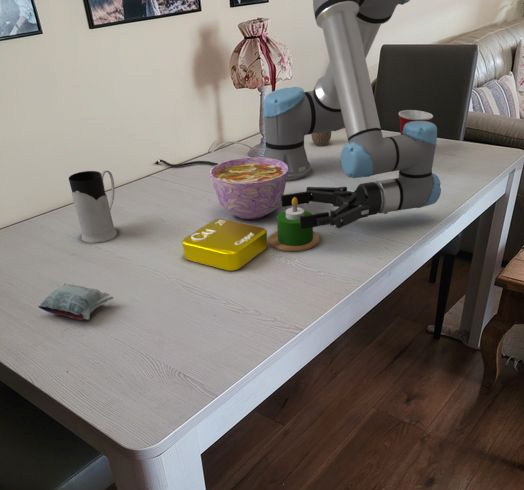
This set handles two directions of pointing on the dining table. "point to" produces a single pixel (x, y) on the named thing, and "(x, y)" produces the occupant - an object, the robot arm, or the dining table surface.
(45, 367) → the dining table surface
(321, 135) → the vase
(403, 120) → the plastic cup
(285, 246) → the cork trivet
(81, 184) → the glass holder
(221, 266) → the element tile
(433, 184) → the robot arm
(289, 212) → the candle
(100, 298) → the packaged food
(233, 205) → the bowl of food
